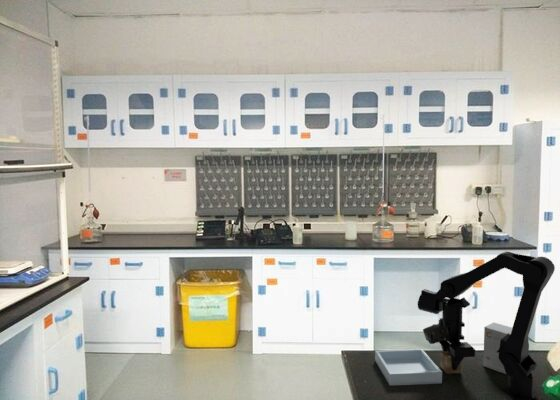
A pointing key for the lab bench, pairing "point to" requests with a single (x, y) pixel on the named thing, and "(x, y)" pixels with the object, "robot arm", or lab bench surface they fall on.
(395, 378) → the sorting tray
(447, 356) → the walnut block
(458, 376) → the lab bench surface
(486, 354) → the small box
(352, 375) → the lab bench surface
